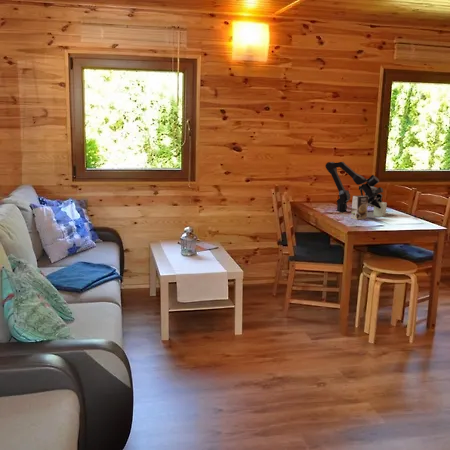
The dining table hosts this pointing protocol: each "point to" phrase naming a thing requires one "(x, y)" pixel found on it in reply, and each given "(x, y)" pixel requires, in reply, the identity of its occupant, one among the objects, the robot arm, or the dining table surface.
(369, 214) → the mat
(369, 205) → the coffeepot
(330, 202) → the dining table surface
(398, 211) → the dining table surface
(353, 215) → the coffee box
